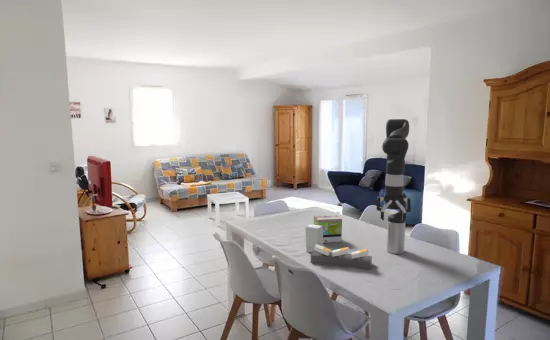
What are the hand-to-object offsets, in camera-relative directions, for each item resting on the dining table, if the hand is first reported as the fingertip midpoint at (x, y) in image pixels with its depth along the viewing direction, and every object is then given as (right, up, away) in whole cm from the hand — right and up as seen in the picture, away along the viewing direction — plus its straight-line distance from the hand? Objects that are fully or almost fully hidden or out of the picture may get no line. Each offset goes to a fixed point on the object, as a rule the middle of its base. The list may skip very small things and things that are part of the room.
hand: (392, 220), depth 167 cm
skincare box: (-30, -24, +45) cm, 59 cm away
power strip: (-18, -26, +27) cm, 42 cm away
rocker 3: (-10, -20, +22) cm, 31 cm away
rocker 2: (-19, -19, +25) cm, 36 cm away
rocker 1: (-28, -20, +28) cm, 44 cm away
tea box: (-20, -21, +65) cm, 71 cm away
